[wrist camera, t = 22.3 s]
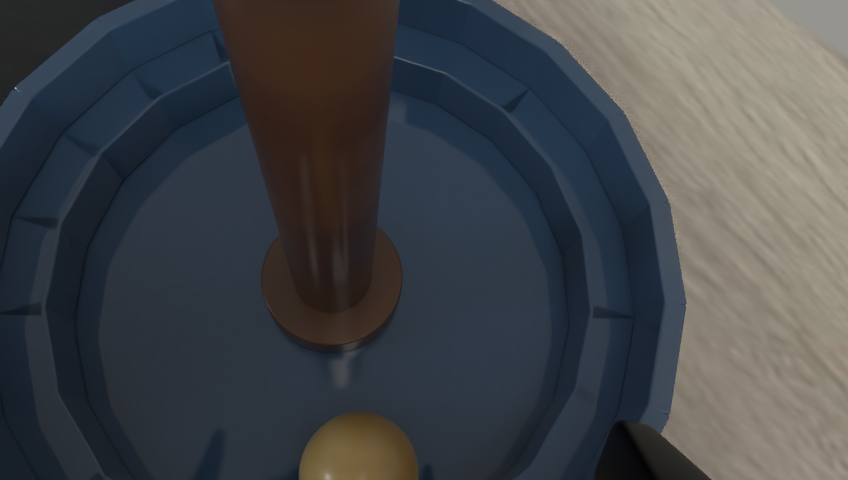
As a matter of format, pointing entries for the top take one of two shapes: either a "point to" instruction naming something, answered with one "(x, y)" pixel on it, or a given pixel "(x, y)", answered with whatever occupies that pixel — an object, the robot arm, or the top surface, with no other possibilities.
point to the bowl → (257, 229)
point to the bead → (359, 450)
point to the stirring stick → (320, 159)
